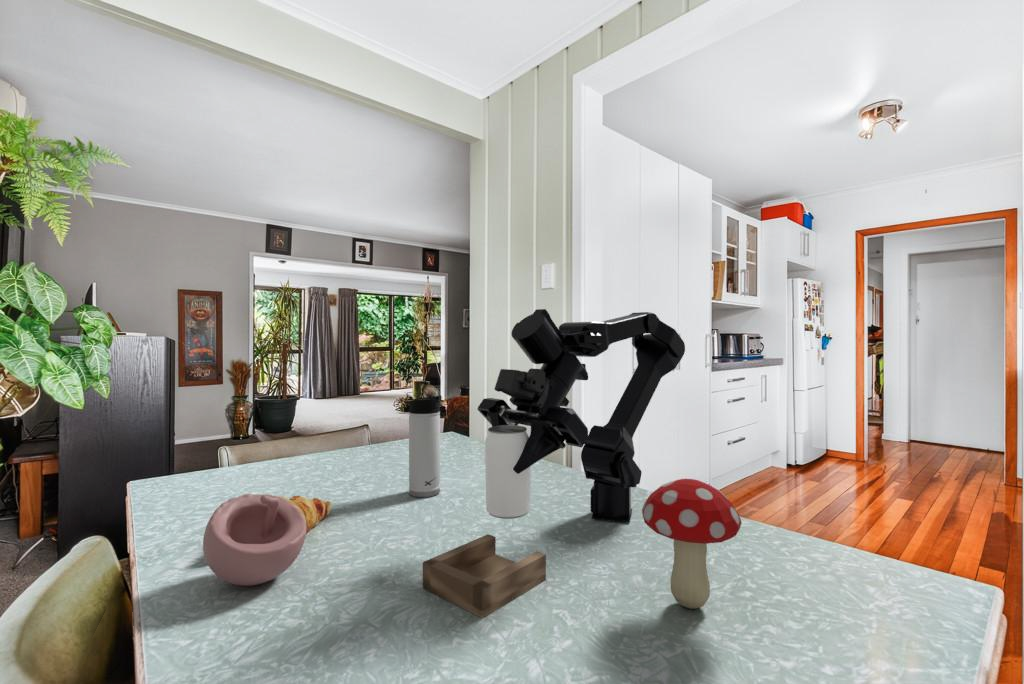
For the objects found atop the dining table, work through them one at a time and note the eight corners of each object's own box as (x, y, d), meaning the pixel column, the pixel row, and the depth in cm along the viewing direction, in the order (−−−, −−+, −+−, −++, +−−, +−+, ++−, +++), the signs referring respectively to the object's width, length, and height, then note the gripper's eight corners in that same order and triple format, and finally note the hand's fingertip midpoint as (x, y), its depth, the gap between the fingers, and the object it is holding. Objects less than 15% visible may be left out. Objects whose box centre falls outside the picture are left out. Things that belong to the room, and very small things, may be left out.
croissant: (317, 531, 92) (303, 490, 93) (356, 512, 88) (340, 470, 90) (204, 579, 72) (188, 526, 74) (246, 558, 69) (229, 502, 70)
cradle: (487, 556, 73) (487, 534, 73) (545, 579, 66) (545, 554, 66) (422, 588, 64) (422, 562, 64) (482, 618, 57) (482, 589, 57)
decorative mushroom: (647, 577, 66) (647, 464, 66) (739, 593, 62) (740, 473, 62) (634, 621, 56) (634, 487, 56) (743, 644, 52) (743, 499, 52)
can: (526, 502, 76) (525, 423, 76) (534, 517, 70) (533, 432, 70) (484, 505, 75) (483, 425, 75) (488, 521, 69) (487, 434, 69)
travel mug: (435, 498, 99) (435, 397, 99) (404, 496, 100) (403, 397, 100) (445, 489, 105) (445, 394, 105) (416, 487, 107) (416, 393, 106)
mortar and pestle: (240, 614, 58) (240, 515, 58) (183, 589, 64) (182, 499, 63) (325, 572, 68) (325, 488, 68) (269, 553, 74) (269, 476, 74)
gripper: (485, 348, 82) (429, 425, 74) (573, 350, 68) (516, 445, 61) (521, 391, 87) (472, 467, 80) (609, 401, 73) (560, 494, 66)
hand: (501, 467), depth 72 cm, fingers closed on can, 6 cm apart
